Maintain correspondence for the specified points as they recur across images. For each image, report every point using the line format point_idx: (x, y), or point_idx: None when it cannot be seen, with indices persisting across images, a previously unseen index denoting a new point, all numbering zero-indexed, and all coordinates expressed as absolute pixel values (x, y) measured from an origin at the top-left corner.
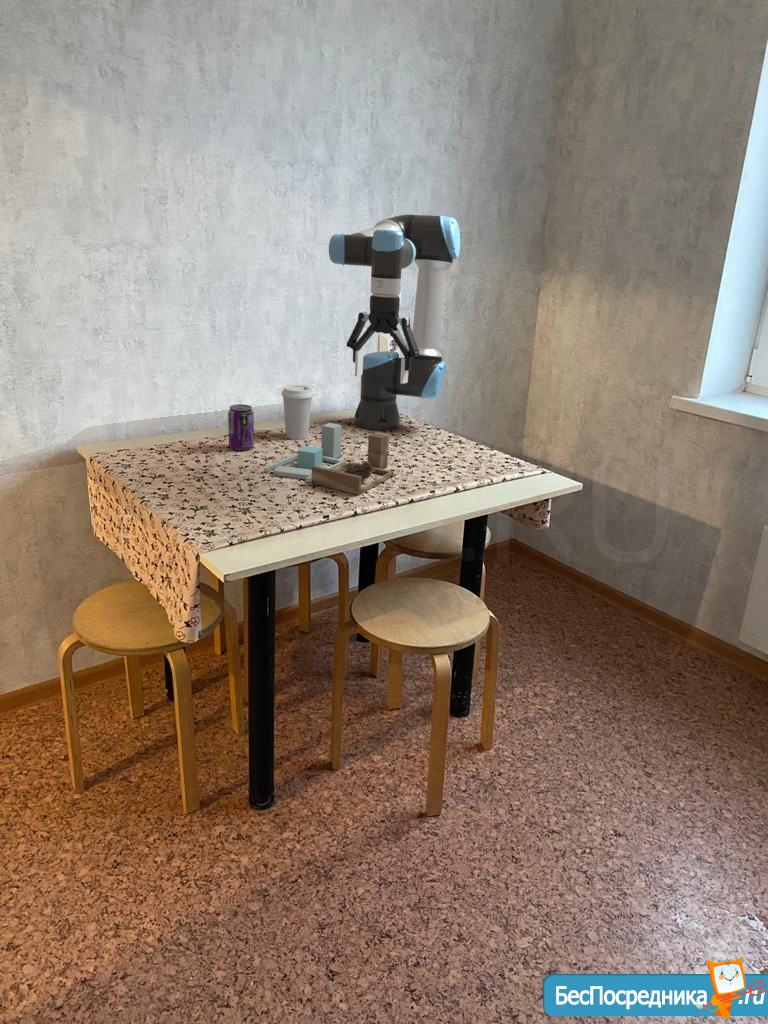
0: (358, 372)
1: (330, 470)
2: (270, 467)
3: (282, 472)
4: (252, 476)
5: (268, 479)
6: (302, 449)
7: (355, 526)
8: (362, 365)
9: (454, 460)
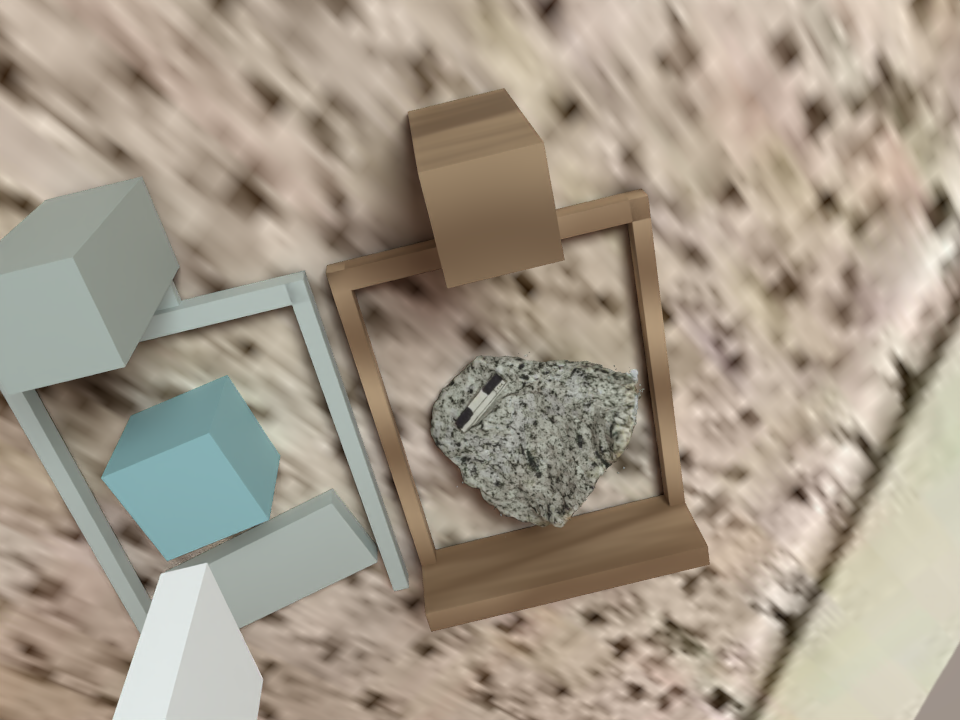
0: (241, 698)
1: (536, 600)
2: None
3: (255, 619)
4: None
5: (256, 662)
6: (164, 532)
7: (849, 678)
8: (176, 697)
9: None
